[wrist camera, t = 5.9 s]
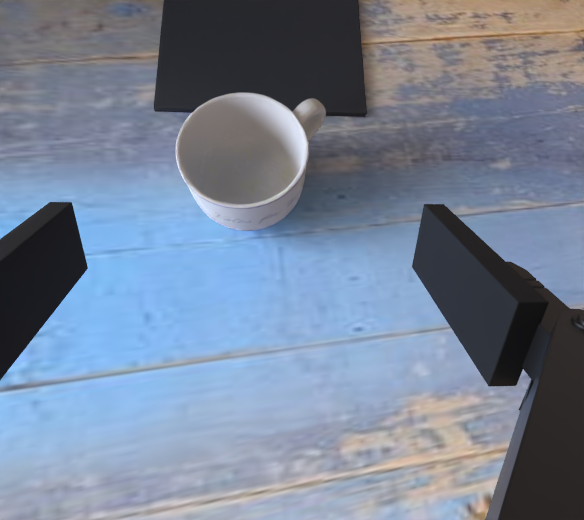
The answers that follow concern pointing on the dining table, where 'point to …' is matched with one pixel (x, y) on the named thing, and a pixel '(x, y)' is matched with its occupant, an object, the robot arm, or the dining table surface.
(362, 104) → the placemat
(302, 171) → the teacup
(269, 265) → the dining table surface
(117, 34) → the dining table surface
